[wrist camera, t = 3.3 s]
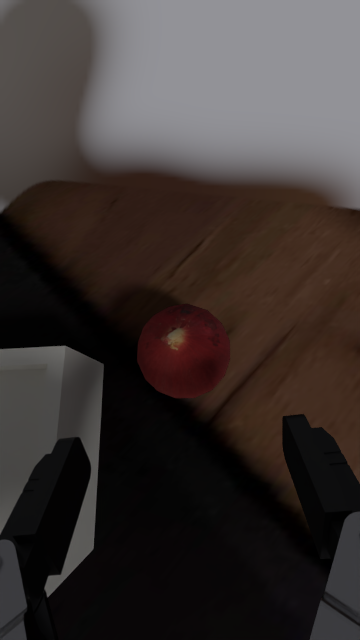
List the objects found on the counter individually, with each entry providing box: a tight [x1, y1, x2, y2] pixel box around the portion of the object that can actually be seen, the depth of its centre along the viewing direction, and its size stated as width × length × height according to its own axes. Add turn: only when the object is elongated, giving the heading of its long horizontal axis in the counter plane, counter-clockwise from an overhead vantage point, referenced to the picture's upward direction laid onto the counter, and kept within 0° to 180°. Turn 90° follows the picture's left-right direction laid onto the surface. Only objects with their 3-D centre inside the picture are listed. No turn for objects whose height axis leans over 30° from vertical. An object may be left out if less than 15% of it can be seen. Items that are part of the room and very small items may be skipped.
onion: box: [137, 304, 230, 398], centre depth 19 cm, size 6×6×8 cm
